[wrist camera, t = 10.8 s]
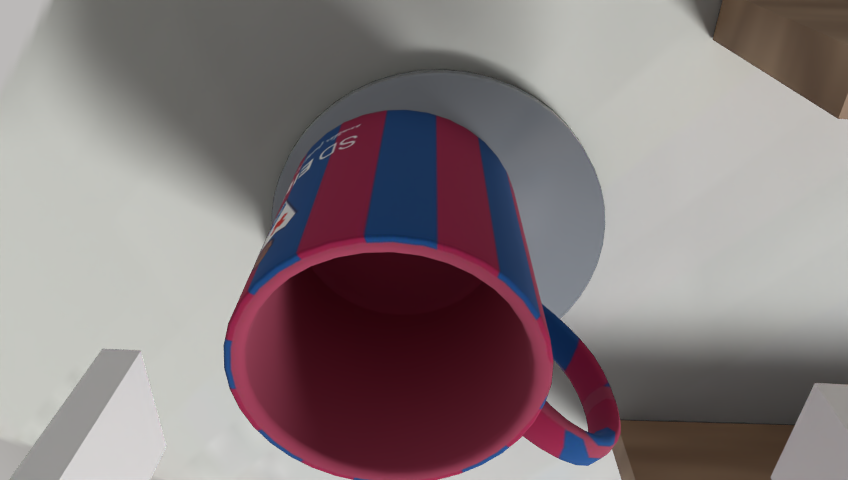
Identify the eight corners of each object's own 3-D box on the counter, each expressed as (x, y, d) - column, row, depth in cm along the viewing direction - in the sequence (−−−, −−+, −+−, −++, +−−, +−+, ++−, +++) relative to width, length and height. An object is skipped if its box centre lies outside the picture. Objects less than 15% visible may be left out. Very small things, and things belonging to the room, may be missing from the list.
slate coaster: (259, 64, 17) (253, 70, 17) (629, 75, 17) (635, 81, 17) (289, 349, 22) (286, 361, 22) (574, 357, 22) (577, 369, 22)
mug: (382, 56, 16) (354, 164, 11) (638, 265, 20) (726, 438, 14) (245, 229, 19) (162, 391, 13) (490, 388, 22) (510, 575, 16)
